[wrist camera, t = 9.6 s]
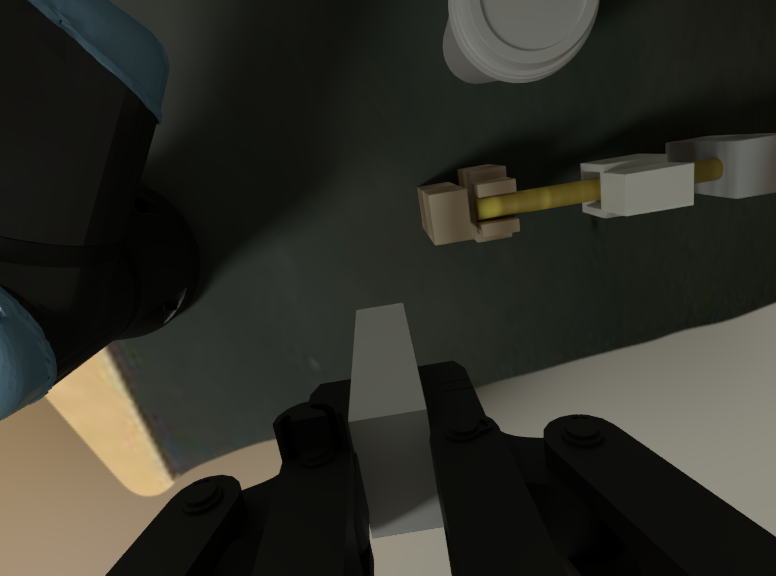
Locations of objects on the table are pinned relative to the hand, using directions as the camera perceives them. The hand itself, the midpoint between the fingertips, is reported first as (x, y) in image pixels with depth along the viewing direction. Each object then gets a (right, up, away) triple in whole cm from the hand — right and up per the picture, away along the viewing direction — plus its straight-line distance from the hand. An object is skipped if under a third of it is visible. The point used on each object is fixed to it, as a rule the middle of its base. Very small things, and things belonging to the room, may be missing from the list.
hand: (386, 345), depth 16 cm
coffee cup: (+8, +24, +28) cm, 37 cm away
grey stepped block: (+19, +11, +26) cm, 34 cm away
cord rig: (+18, +12, +31) cm, 38 cm away
